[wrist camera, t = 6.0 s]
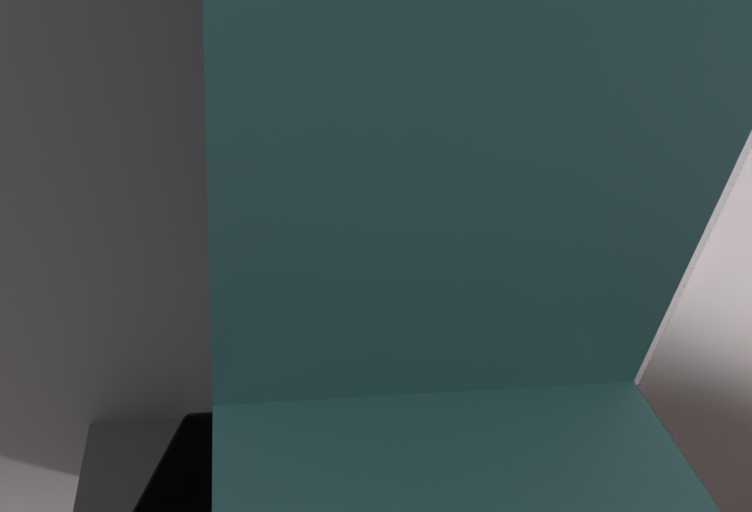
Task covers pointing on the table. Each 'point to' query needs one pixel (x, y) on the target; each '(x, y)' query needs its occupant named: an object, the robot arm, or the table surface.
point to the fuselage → (457, 245)
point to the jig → (110, 247)
